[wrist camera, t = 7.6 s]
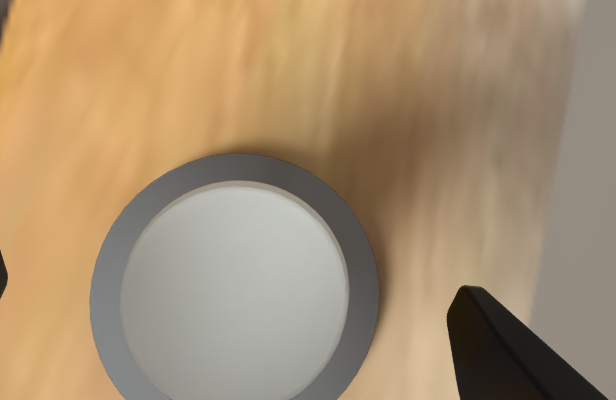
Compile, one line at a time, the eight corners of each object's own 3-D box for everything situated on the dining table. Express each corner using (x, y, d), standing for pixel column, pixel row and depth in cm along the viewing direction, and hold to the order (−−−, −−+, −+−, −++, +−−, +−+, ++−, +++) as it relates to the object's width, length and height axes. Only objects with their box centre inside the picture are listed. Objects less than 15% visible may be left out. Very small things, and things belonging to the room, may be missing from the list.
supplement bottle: (140, 292, 16) (-4, 314, 7) (236, 187, 18) (223, 87, 8) (248, 387, 16) (248, 536, 7) (338, 275, 18) (442, 276, 8)
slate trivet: (364, 442, 18) (371, 451, 17) (75, 429, 16) (64, 439, 15) (379, 175, 20) (386, 169, 19) (122, 145, 18) (115, 137, 17)
